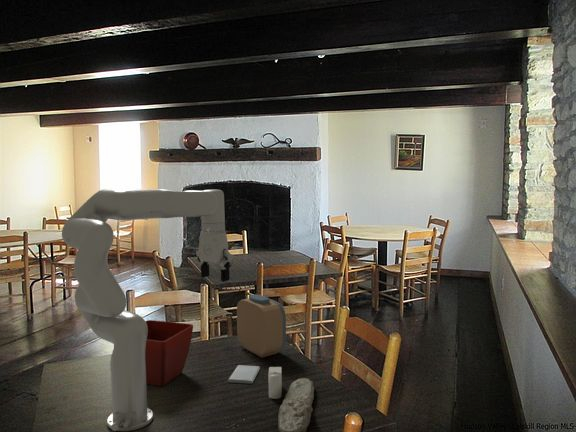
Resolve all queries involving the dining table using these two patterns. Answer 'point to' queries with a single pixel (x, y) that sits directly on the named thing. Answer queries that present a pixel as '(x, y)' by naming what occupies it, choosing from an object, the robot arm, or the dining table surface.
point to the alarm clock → (261, 325)
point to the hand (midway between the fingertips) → (215, 278)
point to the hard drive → (244, 374)
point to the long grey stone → (296, 407)
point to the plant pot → (166, 350)
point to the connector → (275, 382)
